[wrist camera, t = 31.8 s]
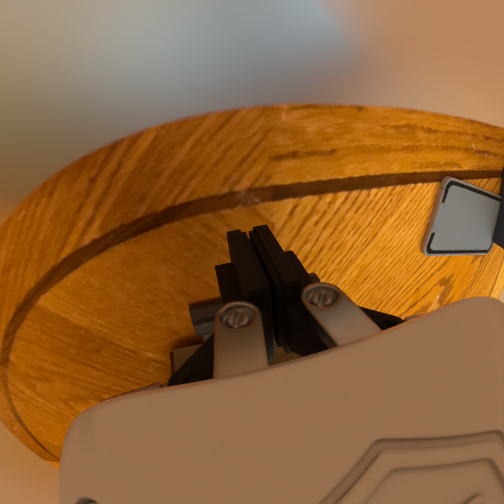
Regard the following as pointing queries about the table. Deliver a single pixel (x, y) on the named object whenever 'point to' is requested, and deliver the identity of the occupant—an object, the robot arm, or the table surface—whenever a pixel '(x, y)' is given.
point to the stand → (500, 220)
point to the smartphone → (461, 220)
